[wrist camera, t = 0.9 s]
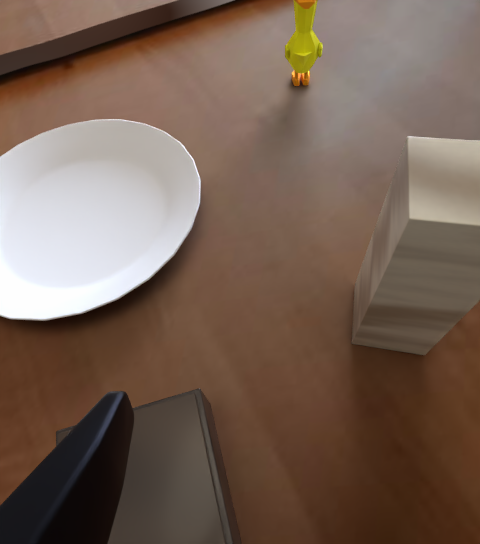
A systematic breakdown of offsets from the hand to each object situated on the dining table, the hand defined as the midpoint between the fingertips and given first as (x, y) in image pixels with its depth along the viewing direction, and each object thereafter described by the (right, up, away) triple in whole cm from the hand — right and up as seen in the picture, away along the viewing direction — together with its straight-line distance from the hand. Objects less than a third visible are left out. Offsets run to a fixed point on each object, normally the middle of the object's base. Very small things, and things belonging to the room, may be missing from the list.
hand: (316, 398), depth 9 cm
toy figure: (+5, +23, +32) cm, 40 cm away
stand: (-6, -10, +13) cm, 17 cm away
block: (+8, 0, +17) cm, 19 cm away
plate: (-15, +7, +24) cm, 29 cm away
